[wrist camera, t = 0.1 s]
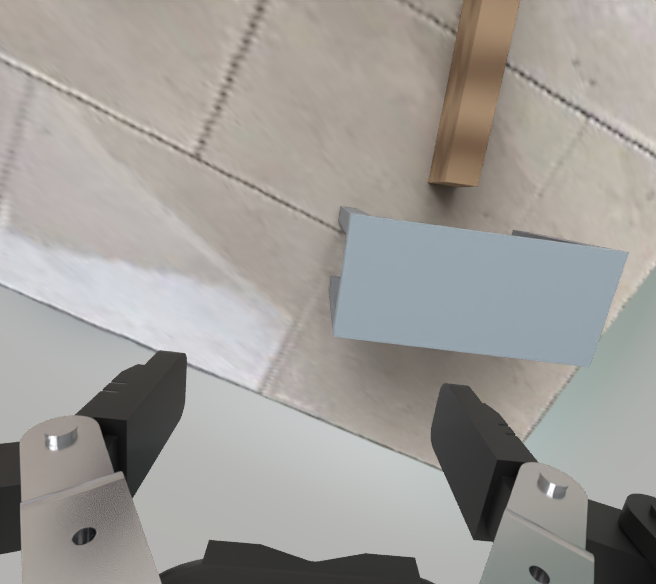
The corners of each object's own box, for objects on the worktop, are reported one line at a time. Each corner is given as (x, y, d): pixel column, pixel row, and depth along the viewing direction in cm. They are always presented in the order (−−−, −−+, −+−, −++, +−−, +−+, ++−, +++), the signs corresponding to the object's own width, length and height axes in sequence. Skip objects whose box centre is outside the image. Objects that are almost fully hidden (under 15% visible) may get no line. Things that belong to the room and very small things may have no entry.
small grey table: (340, 206, 39) (351, 214, 26) (527, 232, 40) (628, 252, 27) (328, 290, 41) (333, 336, 28) (506, 312, 42) (589, 367, 29)
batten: (470, -37, 34) (498, -79, 29) (502, -31, 34) (536, -72, 29) (427, 182, 39) (444, 181, 33) (456, 186, 39) (477, 186, 34)
